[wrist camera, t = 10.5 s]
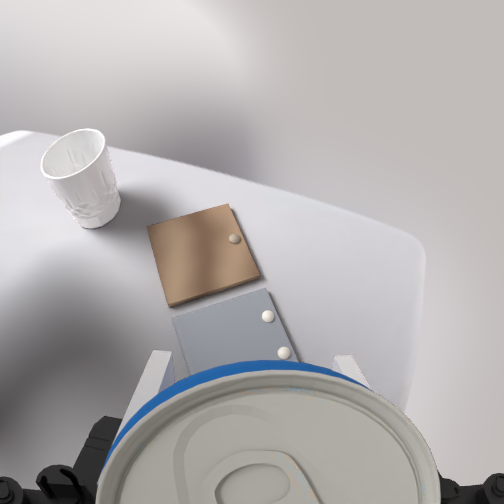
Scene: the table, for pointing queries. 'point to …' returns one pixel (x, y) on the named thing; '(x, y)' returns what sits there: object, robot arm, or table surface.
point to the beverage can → (269, 442)
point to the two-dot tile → (233, 333)
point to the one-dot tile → (201, 254)
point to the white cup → (83, 177)
